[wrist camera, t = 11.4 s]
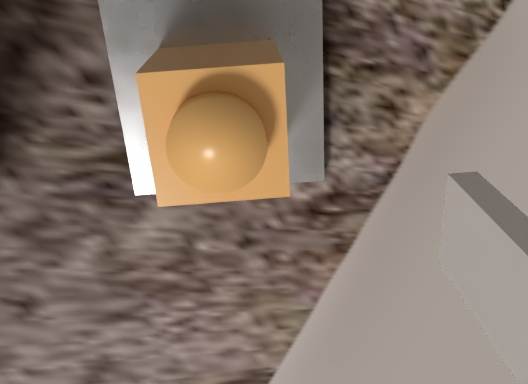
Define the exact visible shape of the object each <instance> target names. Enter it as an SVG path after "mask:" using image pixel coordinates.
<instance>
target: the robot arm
mask: <svg viewBox="0 0 528 384" xmlns="http://www.w3.org/2000/svg"><path fill="white" fill-rule="evenodd" d="M438 263H439V264H440V266H441V267H442V269H443V271H444V272H445V273H446V275H447V277H448V278H449V279H450V281H451V283H452V284H453V286H454V287H455V289H456V290H457V292H458V293H459V295H460V296H461V298H462V299H463V301H464V302H465V304H466V305H467V307H468V308H469V310H470V311H471V313H472V314H473V316H474V317H475V319H476V320H477V322H478V323H479V325H480V326H481V328H482V329H483V331H484V332H485V334H486V335H487V337H488V338H489V340H490V341H491V343H492V344H493V346H494V347H495V349H496V350H497V352H498V354H499V355H500V356H501V358H502V360H503V361H504V363H505V364H506V365H507V367H508V369H509V370H510V372H511V373H512V375H513V376H514V378H515V379H516V381H517V382H518V384H528V217H527V216H526V215H525V214H524V213H523V212H521V211H520V210H519V209H518V208H517V207H516V206H515V205H513V203H511V202H510V201H509V200H508V199H507V198H506V197H505V196H503V195H502V194H501V193H500V192H499V191H498V190H497V189H496V188H495V187H494V186H492V185H491V184H490V183H489V182H488V181H487V180H486V179H484V178H483V177H482V176H481V175H480V174H479V173H478V172H465V173H453V174H448V178H447V187H446V196H445V205H444V214H443V223H442V232H441V241H440V251H439V259H438Z"/></svg>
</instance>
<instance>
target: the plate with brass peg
mask: <svg viewBox="0 0 528 384" xmlns="http://www.w3.org/2000/svg"><path fill="white" fill-rule="evenodd" d="M98 3H99V9H100V14H101V19H102V24H103V30H104V35H105V40H106V45H107V51H108V56H109V61H110V66H111V72H112V77H113V82H114V87H115V92H116V98H117V103H118V108H119V113H120V119H121V124H122V129H123V134H124V140H125V145H126V150H127V155H128V161H129V166H130V171H131V176H132V182H133V187H134V192H135V195H146V194H156V192H155V186H154V180H153V174H152V168H151V162H150V156H149V151H148V145H147V139H146V133H145V127H144V121H143V116H142V110H141V104H140V98H139V92H138V86H137V80H136V75H135V73H136V72H137V71H138V70H139V69H140V68H141V67H142V66H143V64H144V63H145V62H146V61H147V60H148V59H149V58H150V57H151V56H152V54H153V53H154V52H155V51H156V50H157V49H158V48H166V47H180V46H194V45H208V44H222V43H235V42H249V41H263V40H273V41H274V43H275V45H276V47H277V49H278V51H279V53H280V55H281V57H282V59H283V61H284V68H285V91H286V114H287V136H288V159H289V181H290V183H298V182H311V181H323V180H324V107H323V21H322V0H98Z"/></svg>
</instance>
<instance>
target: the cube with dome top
mask: <svg viewBox="0 0 528 384" xmlns="http://www.w3.org/2000/svg"><path fill="white" fill-rule="evenodd" d="M135 75H136V80H137V86H138V92H139V98H140V104H141V110H142V116H143V121H144V127H145V133H146V139H147V145H148V151H149V156H150V162H151V168H152V174H153V180H154V186H155V192H156V197H157V203H158V207H163V206H176V205H188V204H201V203H213V202H226V201H239V200H251V199H264V198H276V197H289V196H290V181H289V159H288V136H287V114H286V91H285V68H284V61H283V59H282V57H281V55H280V53H279V51H278V49H277V47H276V45H275V43H274V41H273V40H263V41H249V42H235V43H222V44H208V45H194V46H180V47H166V48H158V49H157V50H156V51H155V52H154V53H153V54H152V56H151V57H150V58H149V59H148V60H147V61H146V62H145V63H144V64H143V66H142V67H141V68H140V69H139V70H138V71H137V72H136V73H135Z"/></svg>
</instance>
